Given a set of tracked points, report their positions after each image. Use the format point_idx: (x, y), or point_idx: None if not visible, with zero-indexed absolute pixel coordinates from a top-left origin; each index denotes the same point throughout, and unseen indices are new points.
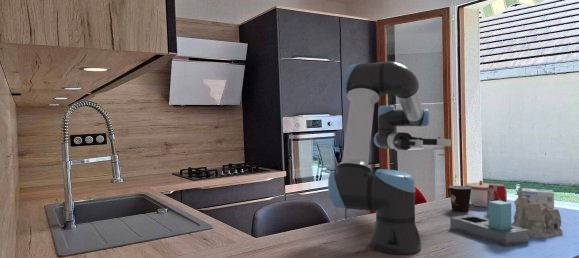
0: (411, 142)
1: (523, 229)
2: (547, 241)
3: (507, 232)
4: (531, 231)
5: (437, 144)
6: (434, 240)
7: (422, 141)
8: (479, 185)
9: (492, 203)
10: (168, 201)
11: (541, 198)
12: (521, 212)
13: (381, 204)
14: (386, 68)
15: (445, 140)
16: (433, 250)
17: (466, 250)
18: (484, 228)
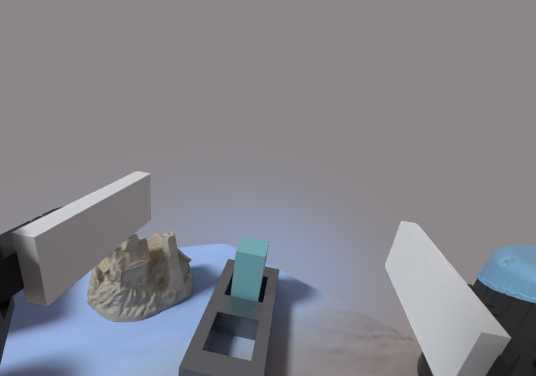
0: (484, 304)
1: (231, 262)
2: (197, 264)
3: (269, 269)
4: (189, 273)
5: (51, 292)
6: (366, 371)
7: (402, 228)
8: None
9: (266, 252)
10: None
11: None
12: (178, 260)
13: None
14: None
15: (126, 196)
16: (400, 339)
17: (344, 310)
18: (274, 299)
